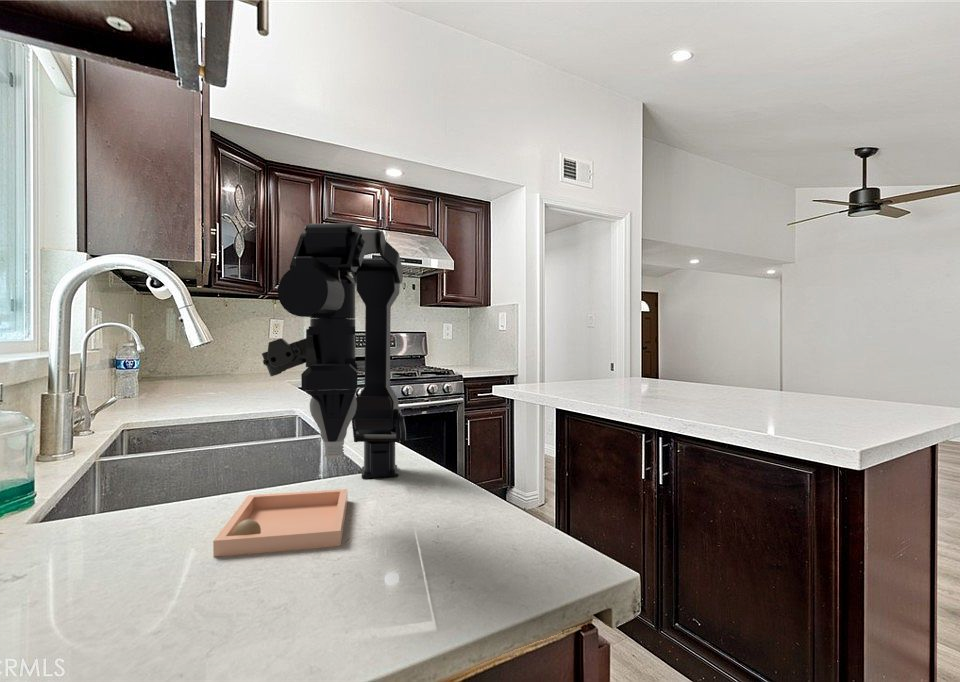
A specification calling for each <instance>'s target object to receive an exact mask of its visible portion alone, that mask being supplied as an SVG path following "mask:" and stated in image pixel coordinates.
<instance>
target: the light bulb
mask: <svg viewBox="0 0 960 682" xmlns="http://www.w3.org/2000/svg"><path fill="white" fill-rule="evenodd" d="M356 398H357V396H356V394H355V395H354V398H353V400H352V403H351V406H350V408H349V411H348V413H347V416H346V418H345V421H344V424H343V426H342V429H341V431H340V434H339V437H338V439H337V441H335V442H329V441H328V440H327V435H326V431H325V427H324V422H323V418H322V414H321V410H320V406H319V403H318V401H316V400H315V399H314V398H313V397H312V396H311V398H310V401H309V411H310V412H309V413H310V414H311V417H312V418H313V420H314V423H316V426H317V427H318V429H319V432H320V433H319V434H320V438H321V439H322V442H323V443H322V445H323V446H322V447H323V457H326V458H328V459H331V460H335V459H339V458H340V457H341V456H343V455H344V454H345V452H344V451H345V449H344V448H345V447H344V445H345V439H346V437H347V433H348V427H350V426H349V425H350V424H351V423H352V418H353V417H354V415H355V412H356V408H357V400H356Z"/></svg>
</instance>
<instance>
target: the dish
mask: <svg viewBox="0 0 960 682" xmlns="http://www.w3.org/2000/svg"><path fill="white" fill-rule="evenodd" d="M348 492H349V491H348V489H347V488H342V489H329V490H328V489H325V490H312V491H311V490H310V491H293V492H280V493H265V494H262V493H261V494H248V495H247V496H246V498H245V499H244V500H243V501H242V503H241V504H240V505H239V506H238V508H237V509H236V510H235V511H234V513H233V515H232V516H231V517H230V518H229V520H228V521H227V523H225V525H224V527H222V528H221V530H220V531H219V533H218V534H217V536H216V537H215V538H214V539H213V542H212V543H213V549H212V551H213V556H212V557H213V558H216V557H227V556H228V557H229V556H236V555H237V556H238V555H252V554H262V553H263V554H264V553H274V552H275V553H276V552H284V551H287V552H288V551H298V550H309V549H319V548H320V549H321V548H332V547H333V548H334V547H341V546H342V545H341V544H342V540H343V532H344V527H345V519H346V514H347V508H348V507H347V506H348V500H349V499H348V494H349V493H348ZM247 519H252V520H255V521H256V522H258V524H259V525H260V528H261V533H260V534H251V535H238V536H233V533H234V529H235V527H236V526H237V525H238V524H239V523H240V522H241V521H243V520H247Z"/></svg>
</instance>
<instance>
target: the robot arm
mask: <svg viewBox="0 0 960 682" xmlns="http://www.w3.org/2000/svg"><path fill="white" fill-rule="evenodd" d="M303 230H304V231H303V232H302V233H301V234H300V236H299V238H298V241H297V244H296V247H295V249H294V253H293V256H292V258H291V261H290V264H289V269H288V270H287V271H286V272H285V273H284V274H283V276H282V277H281V279H280V281H279V284H278V285H277V289H276V291H277V292H276V293H277V299H278V300H279V303H280V305H281V306H282V307H283V309H284V310H286V312H288V313H289V314H291V315H293V316H296V317H302V318H310V320H309V326H308V328H306V329H305V338H303V339H300V340H297V341H293V342H290V343H288V342H287V341H286V340H285V339H284V338H281V337H280V338H277V339H275V340H271V341H269V342H268V346H267V351H265V352H262V353H261V356H262V358H263V361H262V364H263V365H264V366H266V368H267V371H268V374H269V376H270V377H275V376H278V375H281V374H282V372H283V373H284V372H285V371H287V370H289V369H291V368H294V367H298V366H301V365H303V364H305V367H306V369H305V370H304V371H303V372H302V373H300V374H301V380H300V382H301V383H300V385H301V391H304V392H305V393H306V394H307V395H309V396H310V397H311V398H312V397H313V398H314V399H315V400H316V401H318V403H319V406H320V410H321V414H322V418H323V422H324V427H325V431H326V435H327V440H328V441H329V442H335V441H337V439H338V437H339V434H340V431H341V429H342V426H343V424H344V421H345V418H346V416H347V413H348V411H349V408H350V406H351V403H352V400H353V398H354V395H355V396H356V393H357V389H358V363H357V362H356V292H357V294H358V296H359V297H360V299H361V300H362V302H363V304H364V305H365V314H364V315H365V318H364V319H365V320H364V321H365V323H364V325H365V327H364V328H365V329H364V330H365V331H364V334H365V335H364V387H363V388H362V389H361V391H360V393H359V395H358V396H356V400H357V408H356V412H355V415H354V417H353V418H352V420H351V425H352V426H351V427H352V435H353V441H354V443H363V466H361V479H371V478H387V477H388V478H389V477H398V476H399V469H398V465H397V464H396V443H398V444H399V443H401V442H404V441H405V442H406V441H407V429H406V423H405V417H404V416H403V413H402V410H401V409H400V407H399V406H400V405H399V398H398V397H397V396H398V395H397V394H396V392H395V391H394V389H393V388H392V386H391V316H392V313H391V310H392V309H391V307H392V306H393V305H394V302H396V300H397V297H399V295H400V290H401V288H400V287H401V284H402V283H403V277H404V272H403V271H404V270H403V264H402V260H401V257H400V253H399V252H398V251H397V249H395V248H394V246H392V245H391V244H390V243H389V242H388V241H387V240H386V239H387V238H386V235H385V232H384V231H383V230H380V229H378V228H377V229H375V228H373V229H371V228H370V229H369V228H368V229H365V228H364V229H363V228H361V227H360V226H359V225H357V224H355V223H352V222H351V223H350V222H349V223H348V222H347V223H346V222H344V223H342V222H341V223H339V222H337V223H329V222H327V223H325V222H324V223H322V222H321V223H308V224H306V225H305V227H304V228H303ZM371 254H373V255H374V254H375V255H376V254H378V255H379V256H380V258H378V257H377V258H375V257H374V258H373V257H371V258H365V256H368V255H371ZM350 273H351V274H350Z"/></svg>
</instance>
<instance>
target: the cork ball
mask: <svg viewBox="0 0 960 682" xmlns="http://www.w3.org/2000/svg"><path fill="white" fill-rule="evenodd" d="M260 533H261V528H260V525H259V524H258V522H256V521H255V520H252V519H247V520H243V521H241V522H240V523H239V524H238V525H237V526H236V527H235V529H234V533H233V536H238V535H251V534H260Z"/></svg>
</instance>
